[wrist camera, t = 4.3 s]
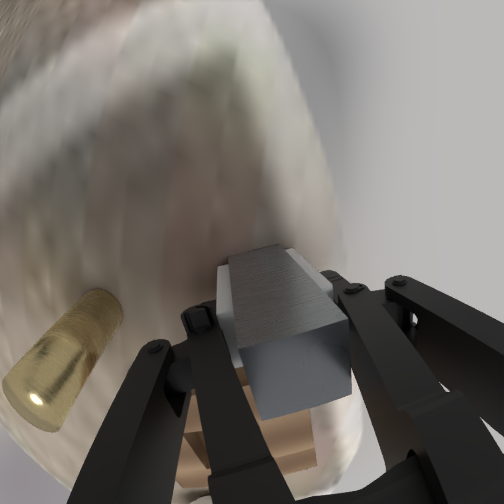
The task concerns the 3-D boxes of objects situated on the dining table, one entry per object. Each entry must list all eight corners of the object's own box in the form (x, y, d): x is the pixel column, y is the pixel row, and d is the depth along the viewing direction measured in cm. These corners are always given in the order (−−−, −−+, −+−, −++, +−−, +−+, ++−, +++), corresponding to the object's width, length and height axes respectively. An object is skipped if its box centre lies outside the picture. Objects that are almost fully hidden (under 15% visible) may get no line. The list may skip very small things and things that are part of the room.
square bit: (227, 256, 17) (237, 349, 7) (278, 243, 17) (348, 318, 7) (240, 303, 18) (261, 420, 8) (288, 291, 18) (351, 394, 8)
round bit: (75, 293, 16) (-9, 375, 7) (112, 284, 17) (31, 375, 7) (93, 333, 17) (29, 429, 8) (129, 327, 17) (74, 435, 8)
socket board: (129, 368, 18) (114, 403, 14) (287, 336, 19) (302, 371, 15) (184, 457, 21) (183, 488, 17) (306, 434, 22) (317, 465, 18)
